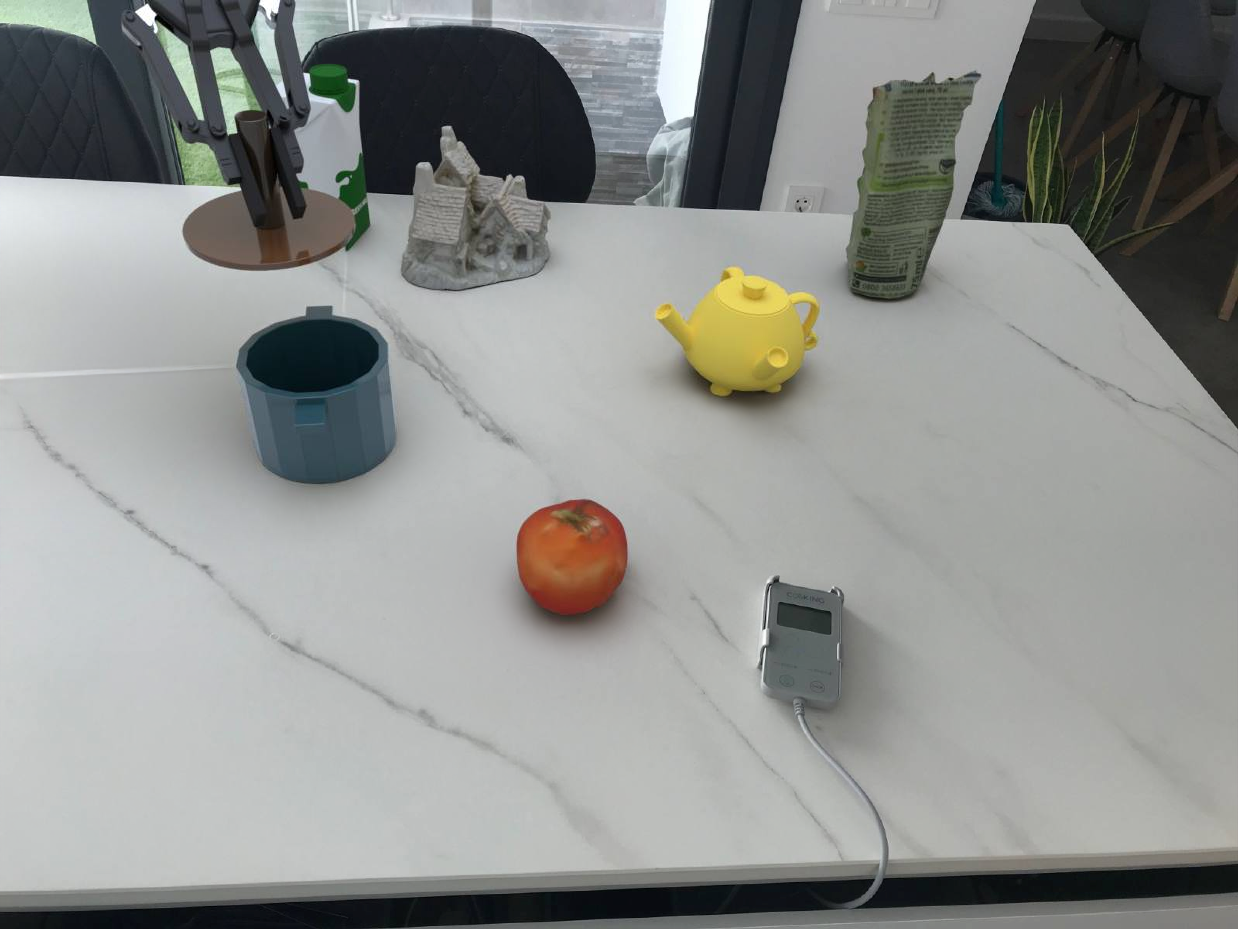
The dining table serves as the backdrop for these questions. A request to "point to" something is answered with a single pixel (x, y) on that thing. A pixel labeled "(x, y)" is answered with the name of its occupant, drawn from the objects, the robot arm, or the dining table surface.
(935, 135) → the pouch
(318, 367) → the pot
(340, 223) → the lid
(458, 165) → the ceramic cottage
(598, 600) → the tomato
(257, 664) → the dining table surface
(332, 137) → the milk carton
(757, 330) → the teapot
